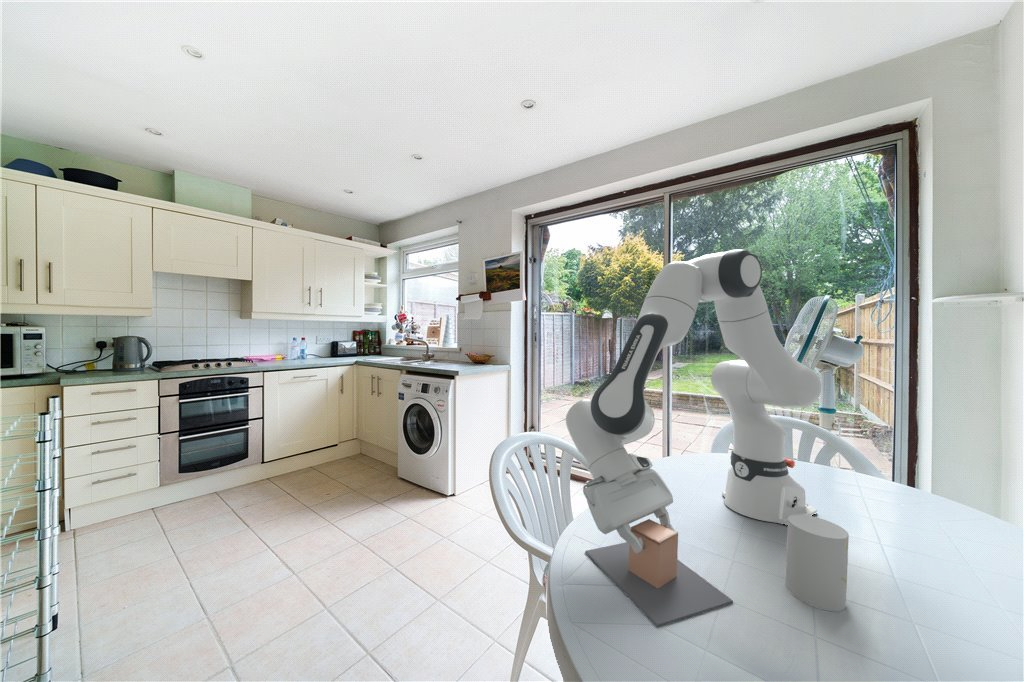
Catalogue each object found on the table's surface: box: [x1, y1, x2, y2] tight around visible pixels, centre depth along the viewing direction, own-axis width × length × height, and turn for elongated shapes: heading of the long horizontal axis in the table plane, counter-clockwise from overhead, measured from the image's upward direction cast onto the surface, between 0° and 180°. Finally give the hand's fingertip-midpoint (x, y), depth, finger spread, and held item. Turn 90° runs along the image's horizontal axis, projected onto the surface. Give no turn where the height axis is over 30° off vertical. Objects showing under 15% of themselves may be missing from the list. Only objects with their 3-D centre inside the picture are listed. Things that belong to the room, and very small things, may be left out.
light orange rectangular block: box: [629, 518, 679, 588], centre depth 67 cm, size 6×6×8 cm
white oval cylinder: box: [784, 515, 850, 613], centre depth 64 cm, size 8×8×12 cm
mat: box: [584, 541, 734, 628], centre depth 67 cm, size 16×20×5 cm
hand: (656, 542), depth 67 cm, fingers open, 8 cm apart
